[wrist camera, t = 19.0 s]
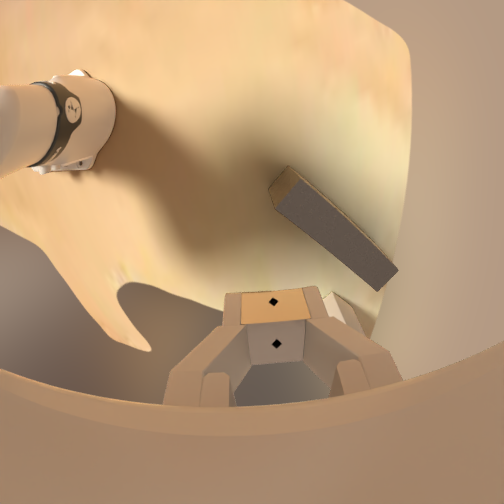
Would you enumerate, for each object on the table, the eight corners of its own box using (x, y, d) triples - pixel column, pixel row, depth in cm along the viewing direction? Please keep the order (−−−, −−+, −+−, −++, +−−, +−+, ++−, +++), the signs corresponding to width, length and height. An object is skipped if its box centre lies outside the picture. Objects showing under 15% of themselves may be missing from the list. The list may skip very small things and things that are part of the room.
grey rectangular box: (266, 191, 43) (272, 211, 34) (288, 165, 41) (300, 178, 32) (355, 263, 49) (375, 293, 40) (374, 242, 47) (398, 270, 38)
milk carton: (331, 290, 52) (362, 363, 35) (352, 306, 54) (384, 375, 37) (306, 313, 54) (326, 387, 38) (328, 327, 57) (351, 397, 40)
